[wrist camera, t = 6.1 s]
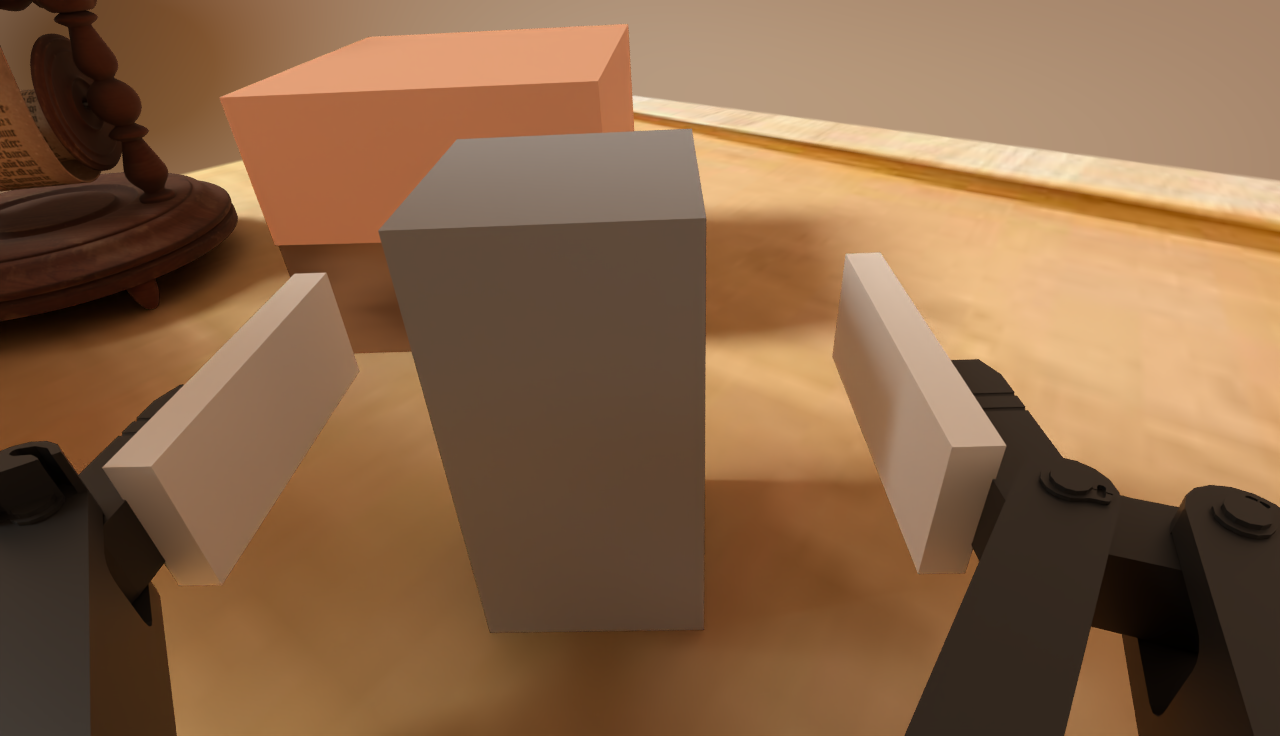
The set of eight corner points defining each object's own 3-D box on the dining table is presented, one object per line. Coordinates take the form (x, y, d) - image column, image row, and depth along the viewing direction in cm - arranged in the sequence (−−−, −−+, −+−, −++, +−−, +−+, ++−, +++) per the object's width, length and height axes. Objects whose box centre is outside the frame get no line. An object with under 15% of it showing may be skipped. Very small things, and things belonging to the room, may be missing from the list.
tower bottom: (321, 361, 27) (278, 244, 24) (411, 239, 37) (388, 146, 34) (623, 352, 27) (614, 231, 24) (632, 231, 36) (627, 136, 34)
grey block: (490, 632, 16) (377, 231, 10) (524, 483, 20) (456, 138, 15) (704, 629, 16) (706, 217, 10) (693, 480, 20) (691, 128, 14)
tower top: (275, 245, 24) (219, 97, 21) (395, 146, 34) (368, 37, 31) (610, 236, 23) (598, 81, 20) (634, 138, 33) (628, 23, 30)
